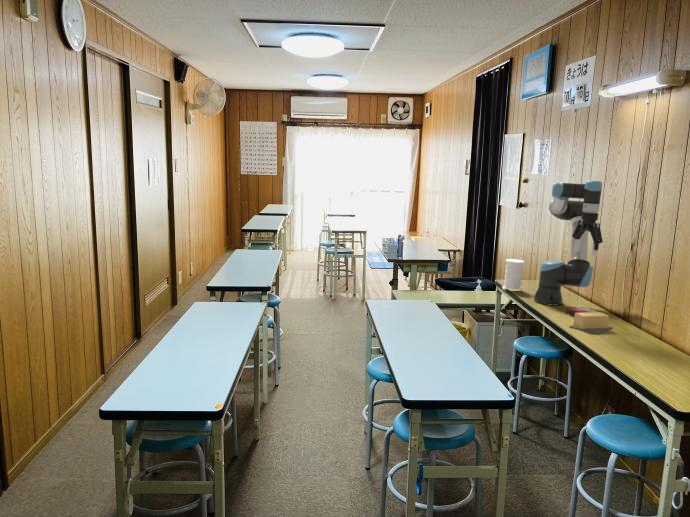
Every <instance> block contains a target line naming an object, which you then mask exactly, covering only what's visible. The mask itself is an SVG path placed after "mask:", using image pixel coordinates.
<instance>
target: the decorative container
mask: <svg viewBox="0 0 690 517" xmlns="http://www.w3.org/2000/svg"><path fill="white" fill-rule="evenodd" d="M505 263H506V264H505V270H504V281H503V284H504V285H502V286H501V289H502V290H503V291H506V290H505V289H507V288H512V289H521V288H522V287H521V285H522V279H523V277H522V276H523V269H524V267H523V265H524V264H525V261H524V260H522V259H517V258H515V259H514V258H506V259H505Z"/></svg>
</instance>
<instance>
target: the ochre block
mask: <svg viewBox="0 0 690 517" xmlns="http://www.w3.org/2000/svg"><path fill="white" fill-rule="evenodd" d="M609 317H610V315H608V314H605V313H604V314H603V312H601V311H597V312H588V313H575V316H574V317H573V324H572V325H574V326H577V327H579V328H581V329H593V328H607V327H608V326H609V320H610V318H609Z"/></svg>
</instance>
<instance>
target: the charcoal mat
mask: <svg viewBox="0 0 690 517" xmlns="http://www.w3.org/2000/svg"><path fill="white" fill-rule="evenodd" d="M569 328H571V329H574V328H575V329H574V330H578V329H579V331H582V330H583V332H587V333H590V334H594V335H599V333H600V334H602V333H604V332H607V331H609V330H611V329H613V326H610V325H608V327H607V328H593V329H581V328H579V327H577V326H574V325H573V324H572V325H569ZM601 332H602V333H601Z"/></svg>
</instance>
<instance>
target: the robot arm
mask: <svg viewBox="0 0 690 517" xmlns="http://www.w3.org/2000/svg"><path fill="white" fill-rule="evenodd" d="M602 190H603V182H602V181H599V180H587V181H585V183H572V182H571V183H570V182H568V183H567V182H554V183H553V184H552V189H551V196H552V197H553V199H552V200H551V201H550V202H549V204H548V210H549V212H550V213H551V215H552V216H554V217H555V218H557V219H558V220H561V221H562V220H563V221H569V224H570V226H572V227H571V242H570V244H571V246H570V259H569V260H568V261H567V263H565V262H564V261H563V260H546V261H542V263H541V265H540V269H539V271H540V272H539V280H538V288H537V289H536V291H535V294H534V296H533V301H534V300H535V301H537V302H540V303H539V304H541V303H545V304H544V305H546V304H555V305H554V306H557V305H556V304H562V305H563V302H564V299H563V295H562V286H570V287H577V288H588V287H590V284H591V282H592V281H591V280H592V277H593V272H594V267H593V266H591V263H590V261H588V254H589V253H588V251H589V249H588V248H589V246H588V245H589V233H590V236H591V238H592V241H593V242H592V245H591V246H592V247H591V253H590V257H592V258H593V257H595V258H597V257H598V252H599V247H600V244H602V243H604V242H603V241H604V240H603V236H602V231H601V223H599V222H598V223H597V221H598V219H599V213H598V212H600V204H601V196H602ZM570 199H579V200H570ZM580 199H581V200H580ZM582 199H583V201H582ZM535 301H534V302H535ZM537 302H536V303H537Z"/></svg>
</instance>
